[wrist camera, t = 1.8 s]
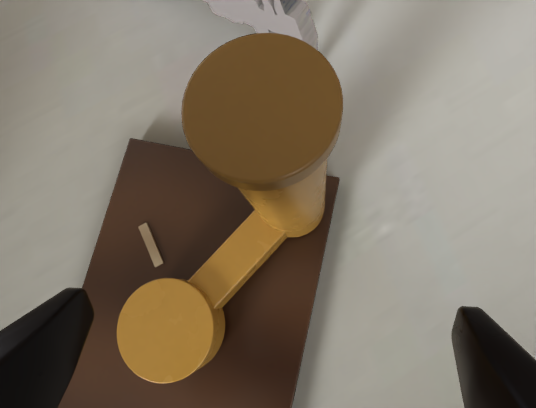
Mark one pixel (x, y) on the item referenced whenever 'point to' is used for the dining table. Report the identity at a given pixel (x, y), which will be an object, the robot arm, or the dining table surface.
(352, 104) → the dining table surface
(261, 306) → the plate
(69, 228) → the dining table surface
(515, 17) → the dining table surface
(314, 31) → the caliper
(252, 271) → the yellow crank handle
